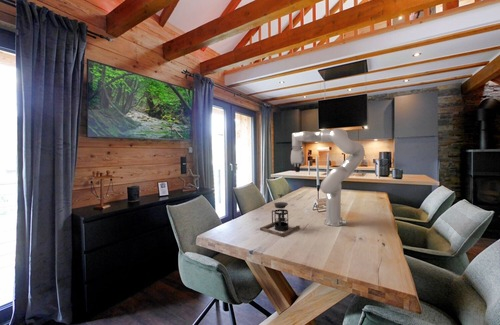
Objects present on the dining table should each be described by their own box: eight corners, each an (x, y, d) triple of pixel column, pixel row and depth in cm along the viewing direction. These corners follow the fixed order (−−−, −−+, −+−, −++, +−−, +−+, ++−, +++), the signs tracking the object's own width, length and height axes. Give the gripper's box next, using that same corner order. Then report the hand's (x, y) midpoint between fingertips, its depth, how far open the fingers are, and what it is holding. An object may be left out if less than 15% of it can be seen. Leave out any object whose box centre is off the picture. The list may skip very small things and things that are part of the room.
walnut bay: (299, 228, 143) (299, 225, 143) (282, 236, 129) (282, 234, 129) (277, 222, 155) (277, 220, 155) (260, 230, 142) (259, 227, 141)
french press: (291, 227, 145) (290, 193, 144) (288, 232, 136) (287, 196, 135) (274, 225, 150) (273, 192, 149) (270, 230, 141) (269, 195, 140)
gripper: (308, 148, 165) (308, 171, 165) (291, 148, 175) (291, 171, 176) (303, 148, 159) (303, 172, 160) (286, 148, 170) (286, 172, 170)
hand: (297, 171), depth 168 cm, fingers closed
